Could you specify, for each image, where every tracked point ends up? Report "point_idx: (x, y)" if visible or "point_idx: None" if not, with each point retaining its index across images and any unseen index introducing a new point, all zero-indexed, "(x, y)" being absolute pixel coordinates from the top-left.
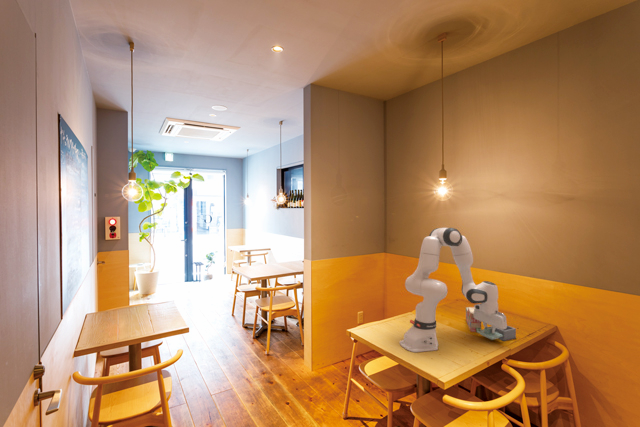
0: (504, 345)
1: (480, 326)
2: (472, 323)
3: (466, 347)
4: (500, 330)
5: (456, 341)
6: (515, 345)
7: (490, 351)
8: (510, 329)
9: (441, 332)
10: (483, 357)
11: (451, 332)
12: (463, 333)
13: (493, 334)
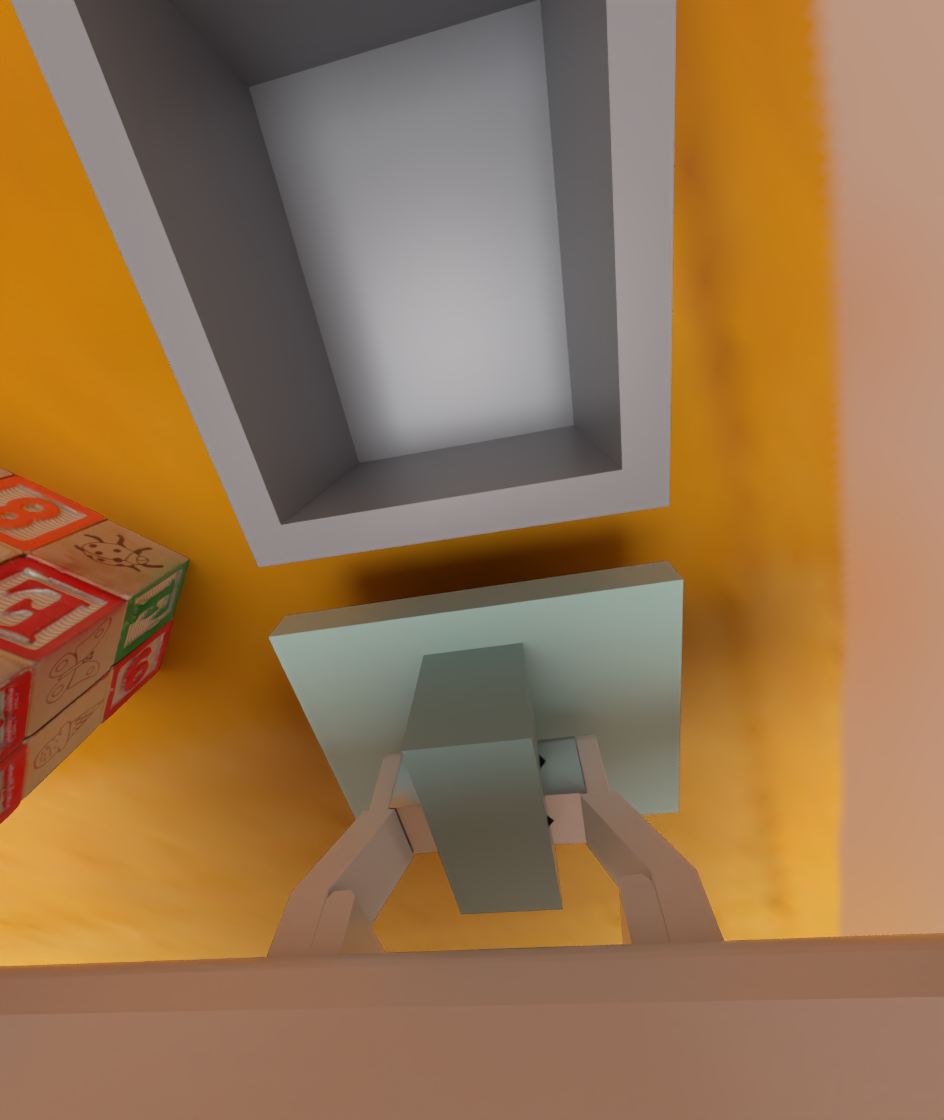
0: (723, 566)
1: (101, 627)
2: (41, 767)
3: (576, 922)
4: (533, 518)
5: (434, 919)
6: (831, 370)
7: (752, 820)
8: (643, 57)
9: (212, 914)
10: (803, 925)
11: (208, 854)
12: (235, 778)
13: (582, 724)
